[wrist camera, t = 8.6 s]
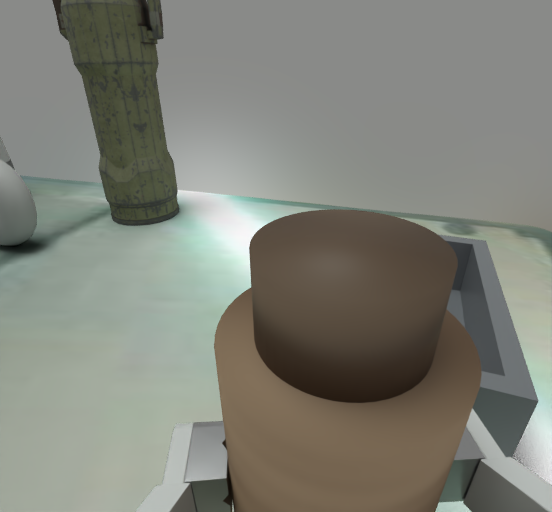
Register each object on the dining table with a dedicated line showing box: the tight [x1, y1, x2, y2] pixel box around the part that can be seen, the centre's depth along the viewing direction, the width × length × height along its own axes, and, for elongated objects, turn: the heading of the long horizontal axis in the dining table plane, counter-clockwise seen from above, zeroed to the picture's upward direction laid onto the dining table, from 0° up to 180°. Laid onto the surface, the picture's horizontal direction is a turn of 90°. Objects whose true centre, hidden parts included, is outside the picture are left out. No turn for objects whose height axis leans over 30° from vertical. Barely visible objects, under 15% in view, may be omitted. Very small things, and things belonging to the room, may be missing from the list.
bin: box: [439, 235, 538, 457], centre depth 24 cm, size 16×14×5 cm
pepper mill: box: [214, 210, 482, 512], centre depth 10 cm, size 5×5×14 cm
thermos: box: [53, 0, 179, 225], centre depth 40 cm, size 9×12×35 cm
